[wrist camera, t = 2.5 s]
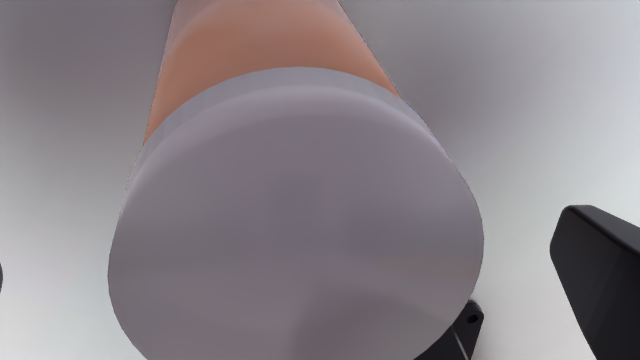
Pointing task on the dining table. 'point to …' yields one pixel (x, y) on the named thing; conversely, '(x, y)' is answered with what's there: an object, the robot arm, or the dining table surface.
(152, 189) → the shaker
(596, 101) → the dining table surface
